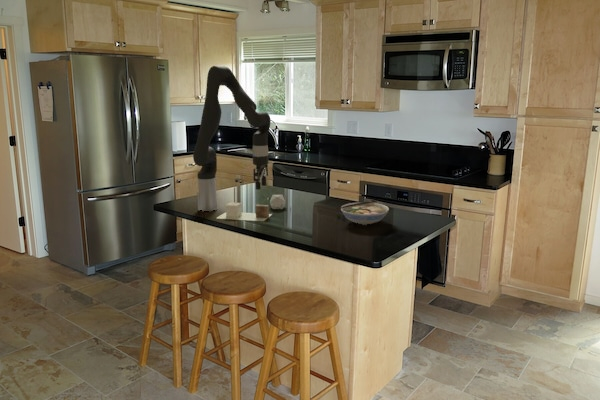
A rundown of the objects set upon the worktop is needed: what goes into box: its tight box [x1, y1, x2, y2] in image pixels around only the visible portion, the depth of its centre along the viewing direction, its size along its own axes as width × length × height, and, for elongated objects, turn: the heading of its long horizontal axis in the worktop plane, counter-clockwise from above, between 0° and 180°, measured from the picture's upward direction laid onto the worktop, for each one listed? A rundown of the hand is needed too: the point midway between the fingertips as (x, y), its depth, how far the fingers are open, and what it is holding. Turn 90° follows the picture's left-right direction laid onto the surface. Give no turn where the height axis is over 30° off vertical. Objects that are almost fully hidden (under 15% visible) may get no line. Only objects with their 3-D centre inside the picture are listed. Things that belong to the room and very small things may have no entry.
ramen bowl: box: [334, 199, 390, 226], centre depth 245 cm, size 25×23×8 cm
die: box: [269, 194, 286, 210], centre depth 272 cm, size 8×9×10 cm
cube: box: [225, 201, 243, 218], centre depth 259 cm, size 6×6×6 cm
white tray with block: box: [216, 204, 273, 222], centre depth 258 cm, size 25×13×7 cm, turn 75°
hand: (261, 187), depth 252 cm, fingers open, 8 cm apart
